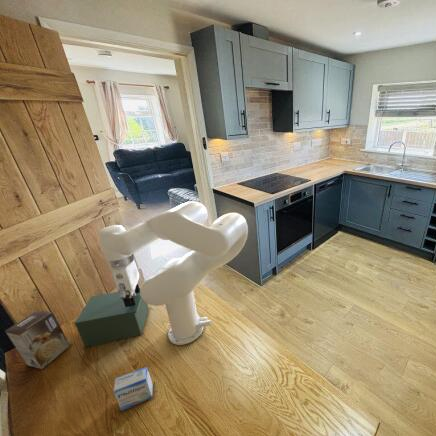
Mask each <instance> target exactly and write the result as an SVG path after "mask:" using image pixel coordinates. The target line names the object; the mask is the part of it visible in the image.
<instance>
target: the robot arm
mask: <svg viewBox="0 0 436 436" xmlns="http://www.w3.org/2000/svg"><path fill="white" fill-rule="evenodd" d="M208 217H209V213H208V209H207V207H206V206H205V205H204V204H203V203H201V202H199V201H193V200H191V201H187V202H183V203H181V204H179V205H177V206H175V207H172V208H171V209H167V210H166V211H163V212H161V213H158V214H156V215H155V216H154V217H151V218H149V219H147V220H144V221H142V222H140V223H138V224H136V225H134V226H132V227H130V228H128V229H126V227H124V226H123V225H120V224H119V225H118V224H114V225H113V224H112V225H109V226H105V227H103V228H102V229H100V230H99V231H98V234H97V235H98V238H99V242H100V244H101V247H102V248H101V249H102V250H103V253H104V256H105V259H106V262H107V265H108V268H109V269H111V272H112V278H113V282H114V285H115V288H116V292H119V293H120V298H121V299H122V300H123V301H124V304H125V307H129V306H135V304H136V303H135V300H134V297H133V296H132V292H131V291H133V290H134V289H135V287H136V289H135V293H140V295H141V298H142V299H143V300H144V301H145V302H146V303H147V305H150V306H155V307H158V306H159V307H161V306H164V305H165V309H166V313H167V316H168V320H169V325H170V328H169V330H168V333H167V337H168V340H169V342H171V344H174V345H177V346H183V345H188V344H190V343H192V342H194V341H195V340H197V339H198V338H199V337H200V336H201V335H202V333H203V331H204V328H205V327H208V326H211V325H212V320H211V319H208V316H203V317H201V316H200V314H199V313H198V309H197V306H196V300H195V294H194V290H195V289H196V288H197V286H198V285H199V284H200V283H201V282H202V281H203V279H205V277H206V276H207V275H208V274H209V273H211V272H213V271H215V270H217V269H219V268H221V267H222V266H225V265H226V264H228V263H230V262H231V261H232V260H233V259H235V258H236V257H237V256H238V255H239V253H241V251H242V250H243V248H244V247H245V244H246V242H247V239H248V235H249V226H248V223H247V220H246V218H245V217H244V215H242V214H240V213H238V212H228V213H226V214H223V215H222V216H220V217H218V218H217V219H216V220H215V221H213V222H212V223H211V224H210V225H208V226H206V225H205V223H206V222H207V220H208ZM158 239H160V240H163V241H170V242H172V243H174V244H176V245H179V246H181V247H183V248H185V249H189V250H191V251H189V252H187V253H185V254H184V255H182V256H181V257H174V258H172V259H170V260H168V261H166V262H165V263H164V264H162V265H161V266H160V267H159V268H158V269H157V270H156V271H155V272H154V273H152V274H151V275H150V276H149V277H148V278H146V279H145V280H144V281H143V282H142V283H141V286H139V280H140V272H139V269H138V266H137V263H136V261H135V257H134V254H136V253H137V252H139V251H140V250H142V249H144V247H147V246H148V245H149V244H152V242H155V241H156V240H158ZM125 292H129V295H126V294H125Z"/></svg>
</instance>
